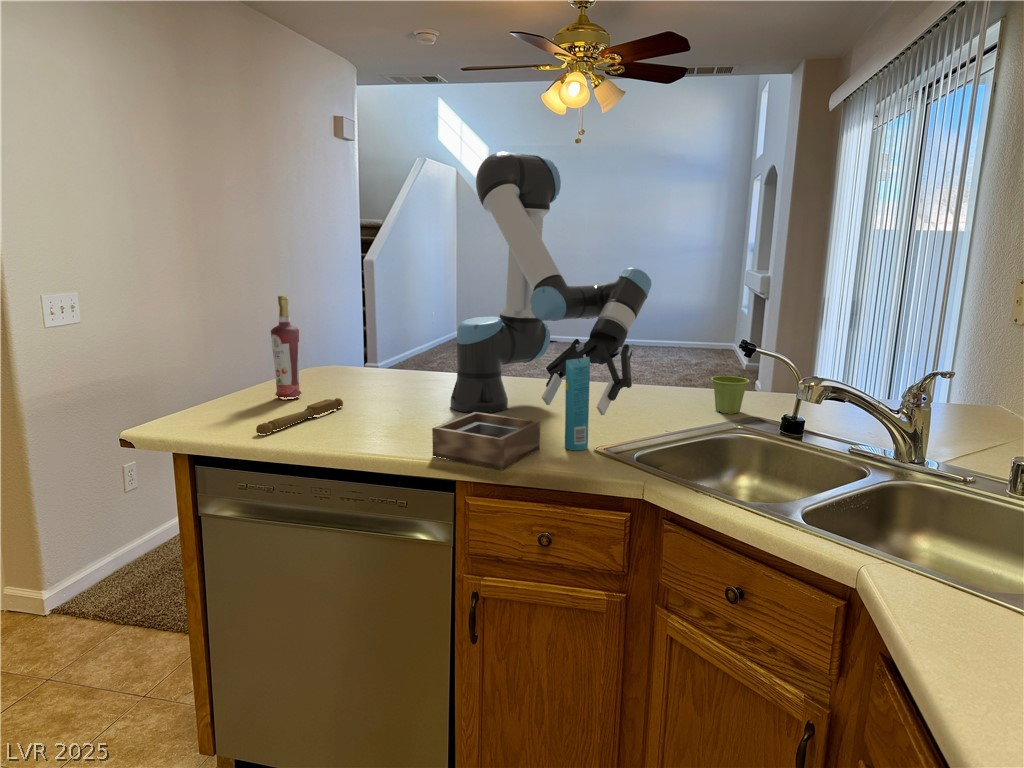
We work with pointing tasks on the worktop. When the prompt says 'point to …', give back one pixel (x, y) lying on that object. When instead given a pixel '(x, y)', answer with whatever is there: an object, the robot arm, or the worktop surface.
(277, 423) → the tap handle
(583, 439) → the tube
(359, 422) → the worktop surface
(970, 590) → the worktop surface
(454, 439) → the crate
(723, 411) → the plant pot
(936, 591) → the worktop surface
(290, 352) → the liquor
